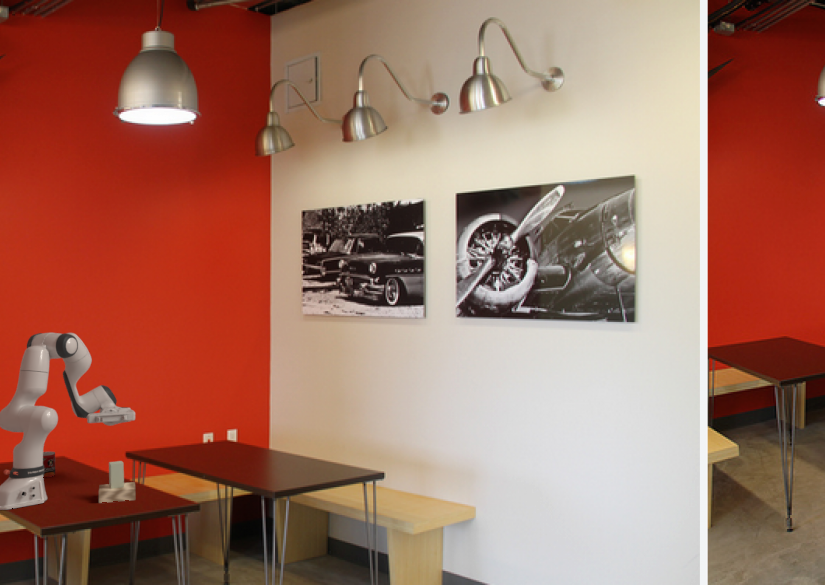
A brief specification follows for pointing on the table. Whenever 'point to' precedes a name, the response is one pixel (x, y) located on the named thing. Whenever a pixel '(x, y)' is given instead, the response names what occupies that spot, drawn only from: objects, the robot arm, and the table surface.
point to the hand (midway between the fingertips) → (112, 419)
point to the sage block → (116, 474)
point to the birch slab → (117, 493)
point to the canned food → (49, 464)
